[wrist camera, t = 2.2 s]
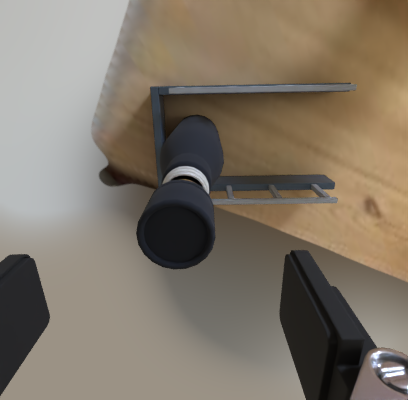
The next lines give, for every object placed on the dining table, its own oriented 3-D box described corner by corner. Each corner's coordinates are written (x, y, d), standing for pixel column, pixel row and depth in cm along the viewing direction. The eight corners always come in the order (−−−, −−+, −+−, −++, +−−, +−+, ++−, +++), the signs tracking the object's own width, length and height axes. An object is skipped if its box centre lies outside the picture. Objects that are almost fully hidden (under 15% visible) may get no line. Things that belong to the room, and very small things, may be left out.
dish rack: (337, 83, 39) (376, 81, 30) (323, 180, 44) (353, 204, 35) (155, 86, 39) (140, 86, 30) (162, 183, 44) (151, 207, 35)
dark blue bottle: (222, 153, 42) (253, 277, 14) (181, 163, 43) (134, 301, 15) (212, 109, 40) (225, 158, 12) (169, 121, 41) (88, 192, 13)
